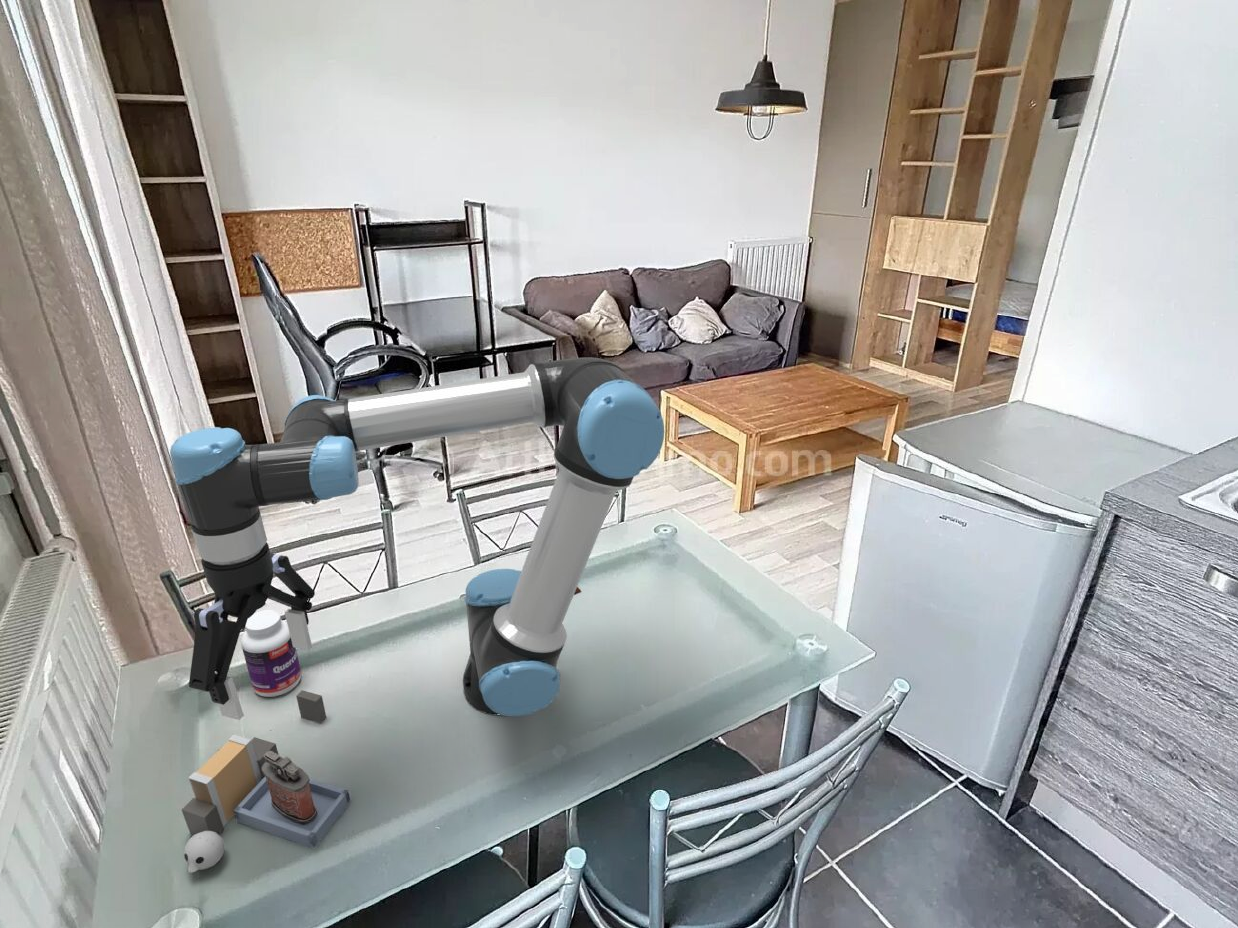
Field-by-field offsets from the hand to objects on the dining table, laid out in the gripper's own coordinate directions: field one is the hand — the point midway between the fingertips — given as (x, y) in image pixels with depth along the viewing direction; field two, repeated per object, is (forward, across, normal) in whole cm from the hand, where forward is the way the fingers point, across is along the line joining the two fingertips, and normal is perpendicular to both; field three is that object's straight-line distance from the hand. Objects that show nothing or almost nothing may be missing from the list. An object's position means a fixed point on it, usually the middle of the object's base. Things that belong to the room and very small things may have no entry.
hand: (270, 679), depth 94 cm
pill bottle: (+22, -18, -18) cm, 34 cm away
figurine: (+22, +14, -4) cm, 26 cm away
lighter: (+22, +3, +2) cm, 22 cm away
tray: (+22, +3, +2) cm, 22 cm away
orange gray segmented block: (+22, -1, -8) cm, 23 cm away
